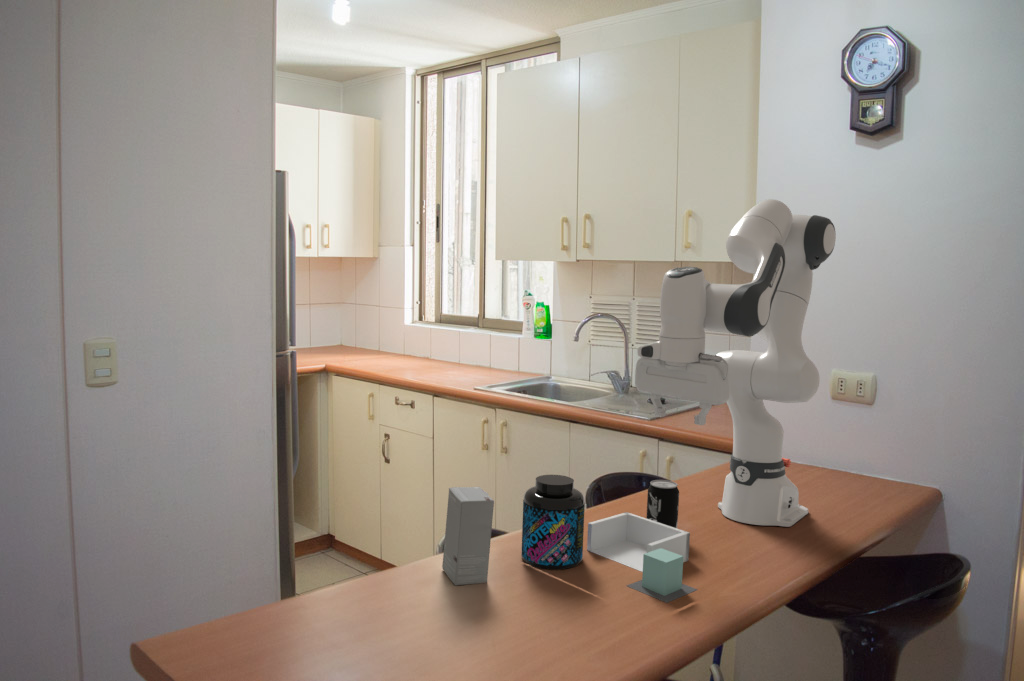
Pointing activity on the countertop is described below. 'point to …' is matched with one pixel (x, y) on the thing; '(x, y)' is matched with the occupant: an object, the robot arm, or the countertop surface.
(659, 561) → the block
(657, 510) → the beverage can
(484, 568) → the skincare box
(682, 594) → the mat
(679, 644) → the countertop surface
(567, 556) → the container
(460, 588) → the countertop surface
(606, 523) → the bin
